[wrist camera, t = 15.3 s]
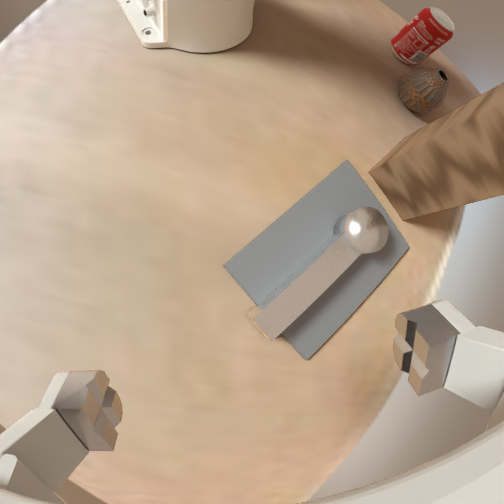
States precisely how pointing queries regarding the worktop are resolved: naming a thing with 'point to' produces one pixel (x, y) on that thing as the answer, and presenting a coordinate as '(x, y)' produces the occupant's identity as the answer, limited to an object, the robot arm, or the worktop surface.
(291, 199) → the worktop surface
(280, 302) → the steel link
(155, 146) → the worktop surface
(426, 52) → the beverage can
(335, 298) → the slate mat
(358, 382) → the worktop surface
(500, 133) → the brown boxy piece
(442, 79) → the vase
